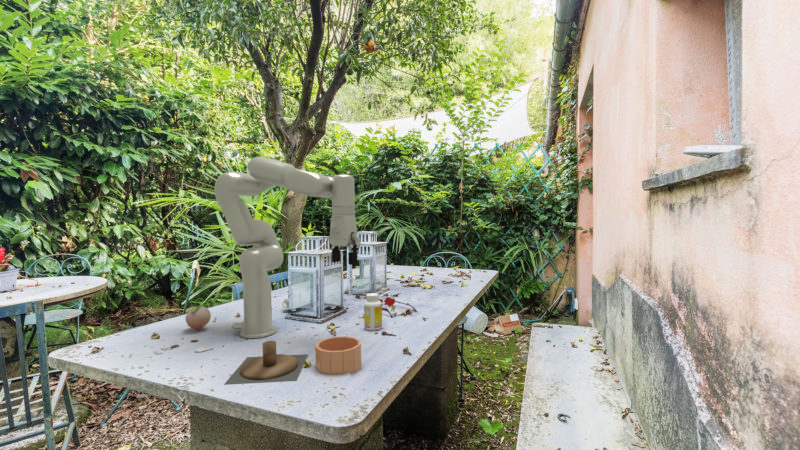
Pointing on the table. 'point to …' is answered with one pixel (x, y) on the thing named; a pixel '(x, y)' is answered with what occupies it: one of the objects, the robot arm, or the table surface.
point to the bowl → (338, 355)
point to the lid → (269, 364)
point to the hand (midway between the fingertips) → (344, 262)
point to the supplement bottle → (372, 312)
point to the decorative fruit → (198, 317)
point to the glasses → (391, 303)
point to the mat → (293, 376)
